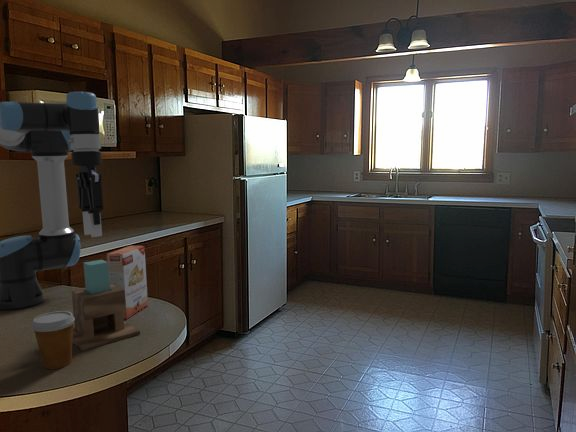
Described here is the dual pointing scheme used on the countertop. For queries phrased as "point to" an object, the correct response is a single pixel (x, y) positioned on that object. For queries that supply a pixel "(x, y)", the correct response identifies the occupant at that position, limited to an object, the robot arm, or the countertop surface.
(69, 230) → the robot arm
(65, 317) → the disposable coffee cup
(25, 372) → the countertop surface
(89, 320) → the chute
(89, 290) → the block
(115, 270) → the cracker box
